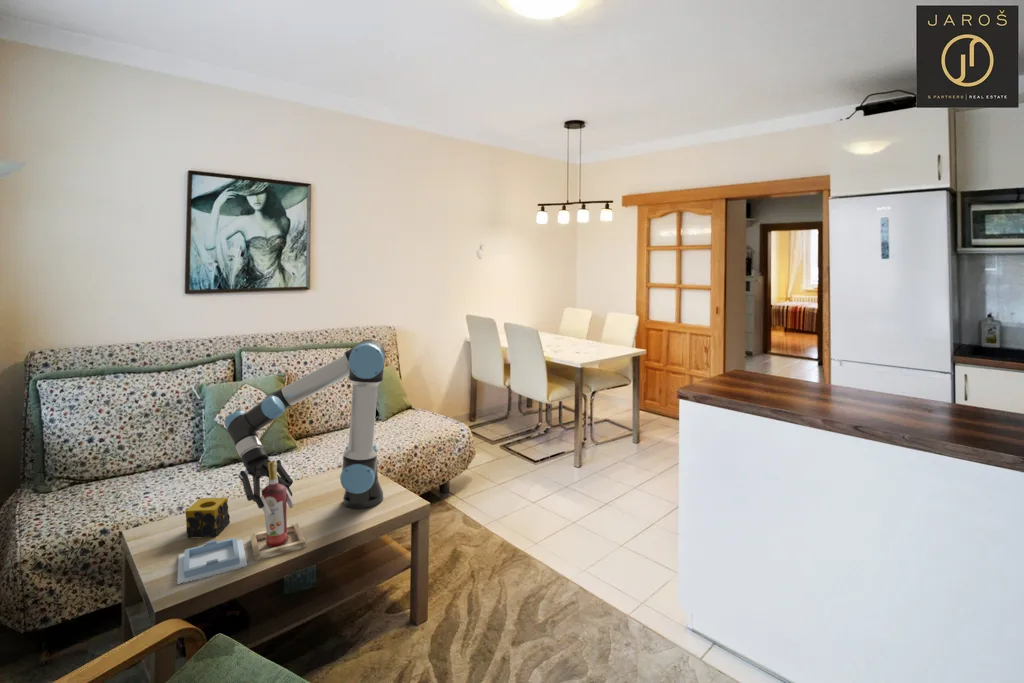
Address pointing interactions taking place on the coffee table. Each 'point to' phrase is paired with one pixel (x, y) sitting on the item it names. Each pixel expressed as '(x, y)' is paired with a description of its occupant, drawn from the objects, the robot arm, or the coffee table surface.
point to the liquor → (275, 508)
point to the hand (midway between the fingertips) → (280, 510)
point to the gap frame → (280, 549)
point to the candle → (207, 517)
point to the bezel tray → (211, 559)
